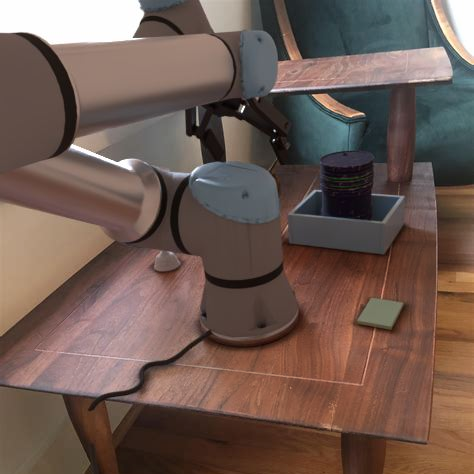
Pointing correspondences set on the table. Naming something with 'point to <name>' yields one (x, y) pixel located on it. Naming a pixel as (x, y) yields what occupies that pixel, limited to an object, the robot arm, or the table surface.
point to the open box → (347, 225)
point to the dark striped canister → (347, 185)
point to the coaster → (380, 313)
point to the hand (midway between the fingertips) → (251, 158)
